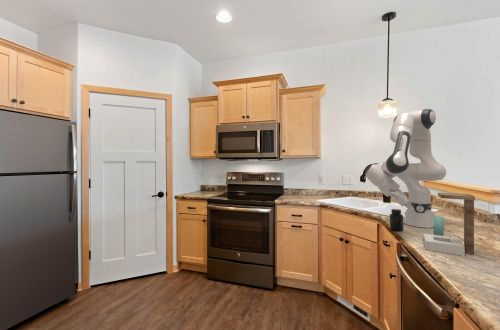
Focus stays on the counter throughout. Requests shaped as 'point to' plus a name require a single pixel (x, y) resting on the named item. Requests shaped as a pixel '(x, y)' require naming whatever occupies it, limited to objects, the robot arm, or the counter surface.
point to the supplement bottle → (396, 220)
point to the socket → (443, 244)
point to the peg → (438, 225)
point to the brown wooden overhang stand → (465, 218)
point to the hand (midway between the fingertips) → (412, 208)
